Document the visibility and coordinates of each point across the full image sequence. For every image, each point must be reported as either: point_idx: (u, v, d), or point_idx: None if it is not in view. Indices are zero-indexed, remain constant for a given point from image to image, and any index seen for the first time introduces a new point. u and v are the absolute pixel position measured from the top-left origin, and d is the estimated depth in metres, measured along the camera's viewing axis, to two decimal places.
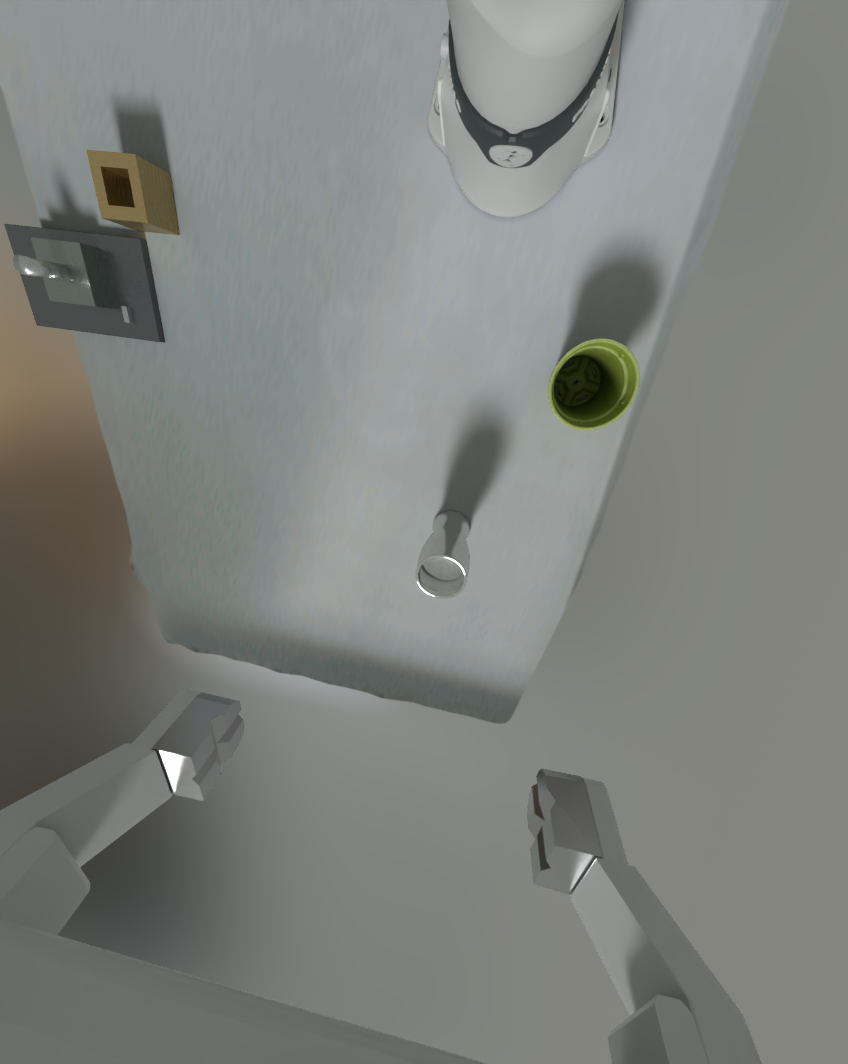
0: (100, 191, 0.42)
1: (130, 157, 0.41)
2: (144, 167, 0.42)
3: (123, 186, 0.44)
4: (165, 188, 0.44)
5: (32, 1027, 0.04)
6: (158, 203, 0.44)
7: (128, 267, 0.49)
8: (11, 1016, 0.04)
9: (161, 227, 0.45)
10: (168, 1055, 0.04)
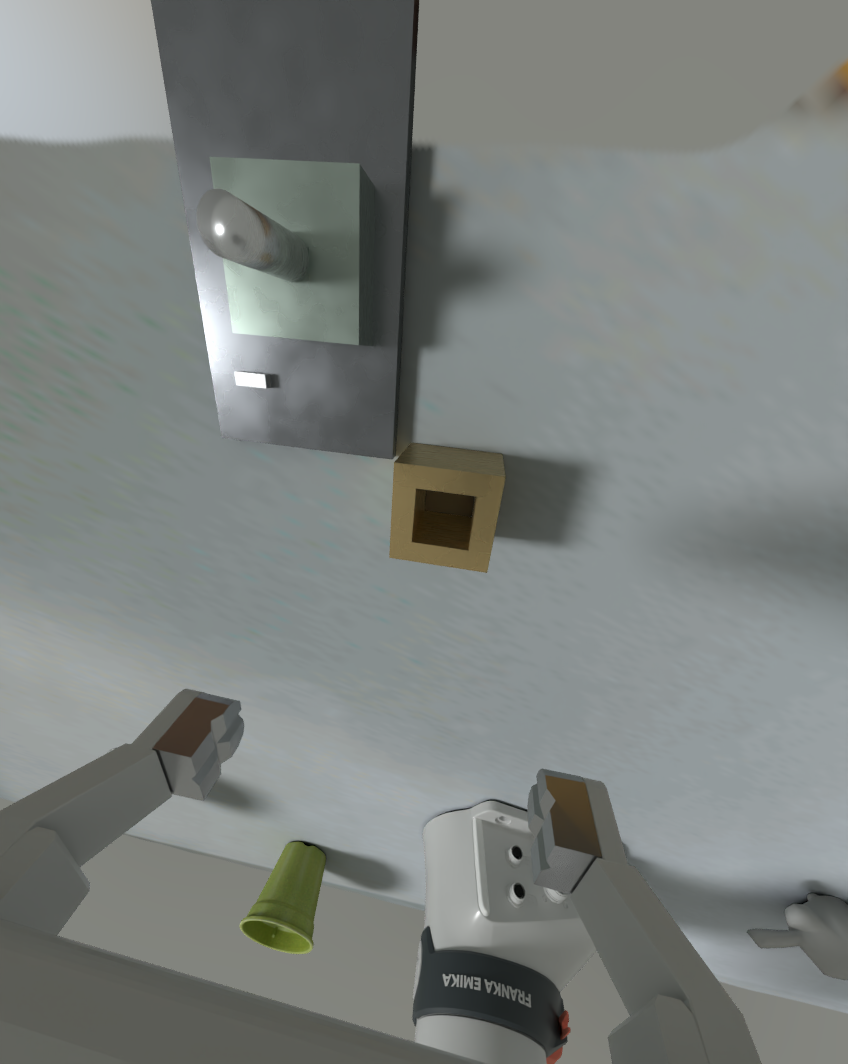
0: (438, 479, 0.20)
1: (483, 562, 0.22)
2: None
3: None
4: None
5: (32, 1027, 0.04)
6: None
7: (343, 413, 0.23)
8: (12, 1014, 0.04)
9: None
10: (168, 1055, 0.04)
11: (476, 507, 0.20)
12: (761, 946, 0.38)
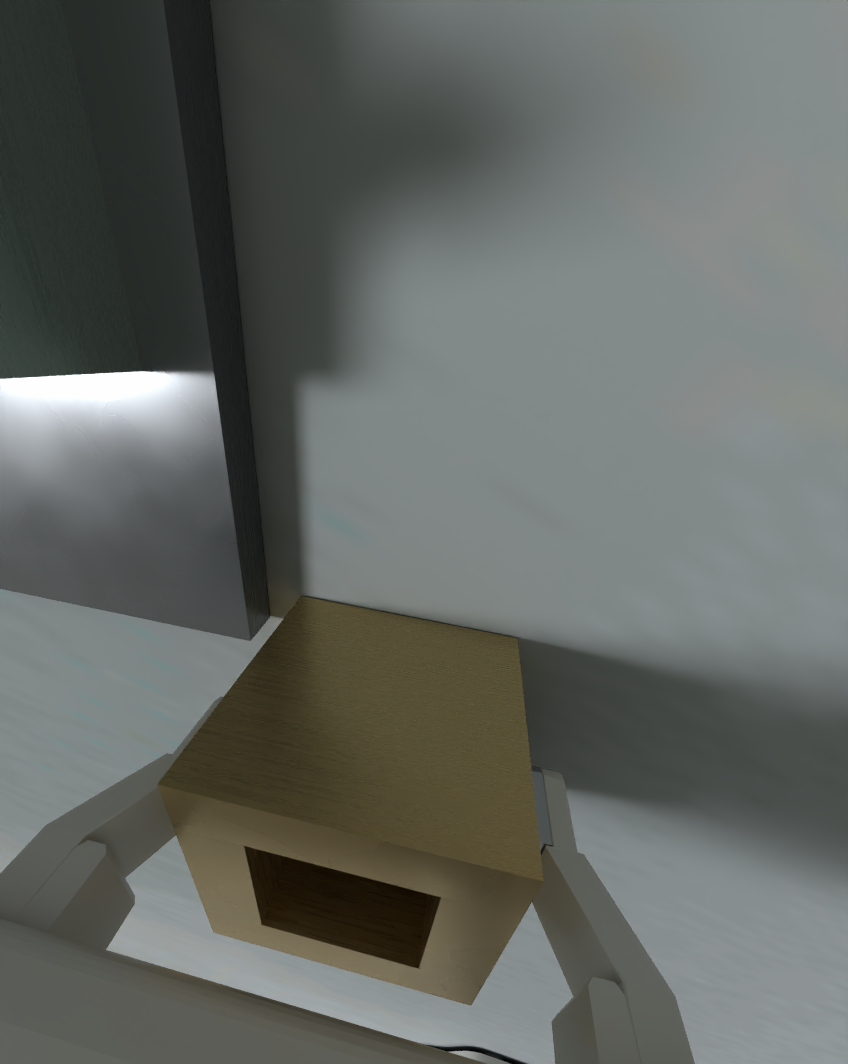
0: (308, 843, 0.06)
1: (461, 991, 0.08)
2: None
3: None
4: None
5: (32, 1027, 0.04)
6: None
7: (112, 537, 0.09)
8: (12, 1014, 0.04)
9: None
10: (168, 1055, 0.04)
11: (439, 912, 0.06)
12: None
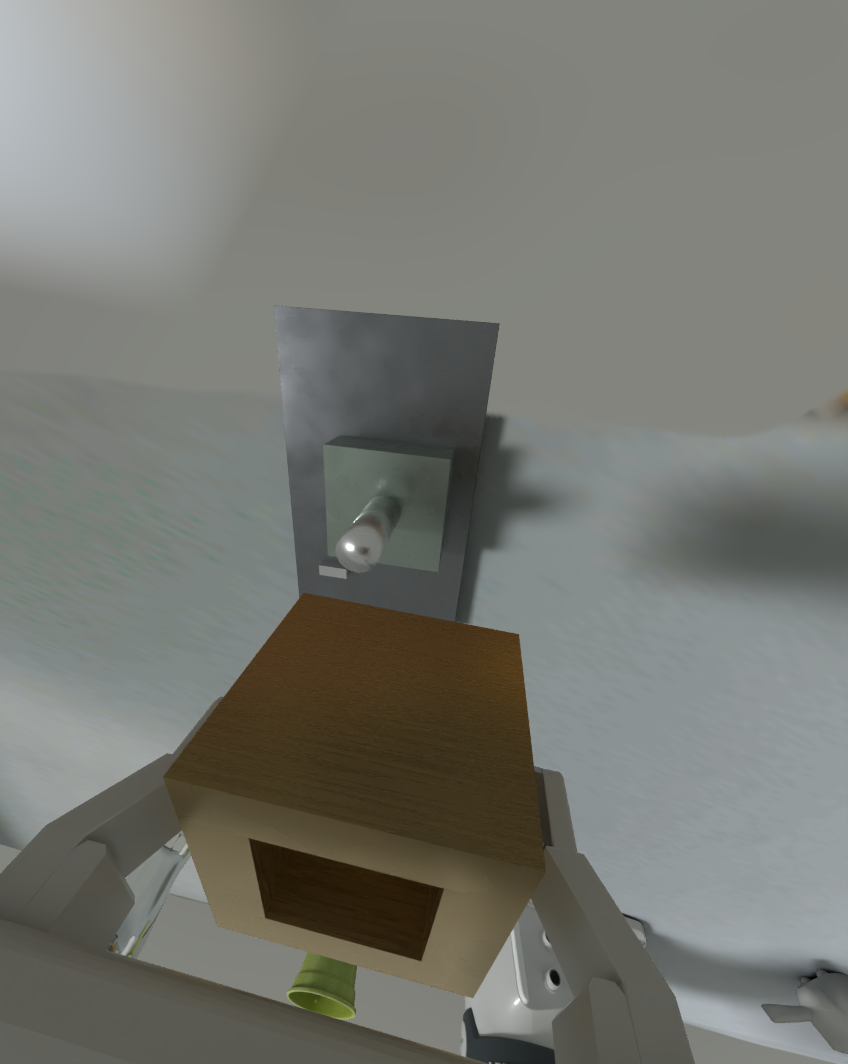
0: (312, 835, 0.06)
1: (463, 984, 0.08)
2: None
3: None
4: None
5: (32, 1027, 0.04)
6: None
7: (412, 596, 0.26)
8: (12, 1014, 0.04)
9: None
10: (168, 1055, 0.04)
11: (442, 904, 0.06)
12: (774, 1021, 0.41)
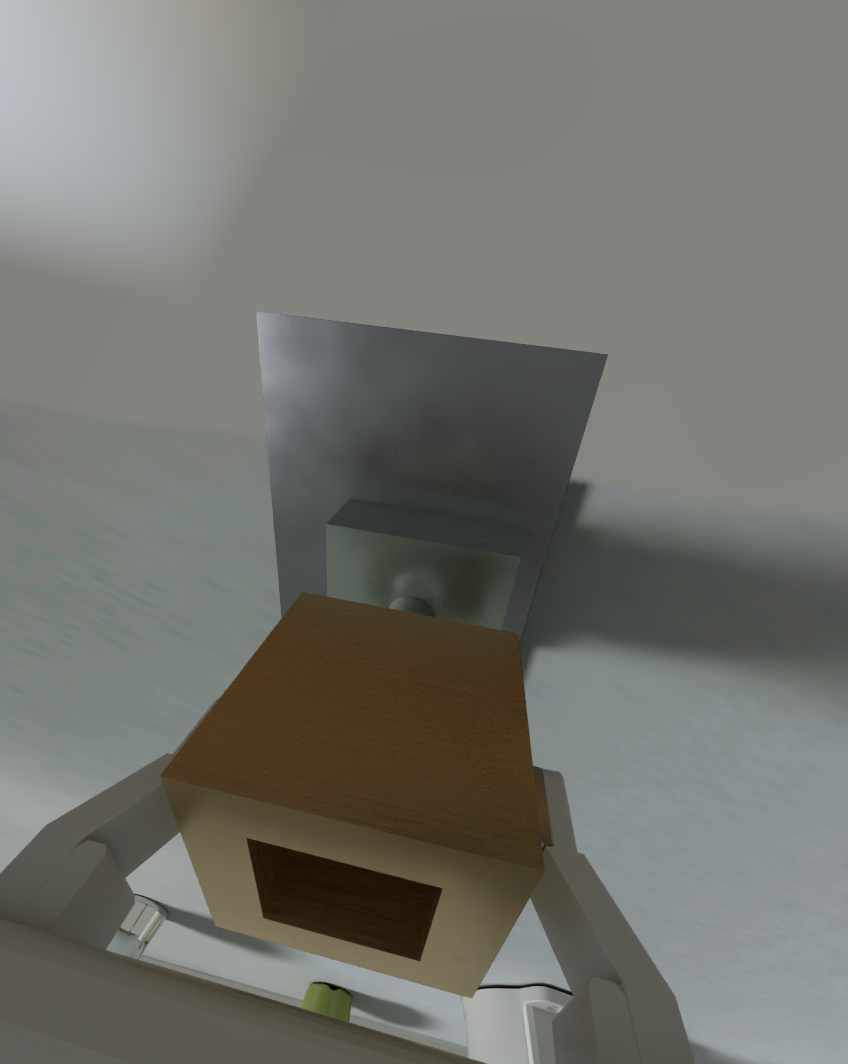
0: (310, 834, 0.06)
1: (462, 984, 0.08)
2: None
3: None
4: None
5: (32, 1027, 0.04)
6: None
7: None
8: (12, 1014, 0.04)
9: None
10: (168, 1055, 0.04)
11: (440, 904, 0.06)
12: None
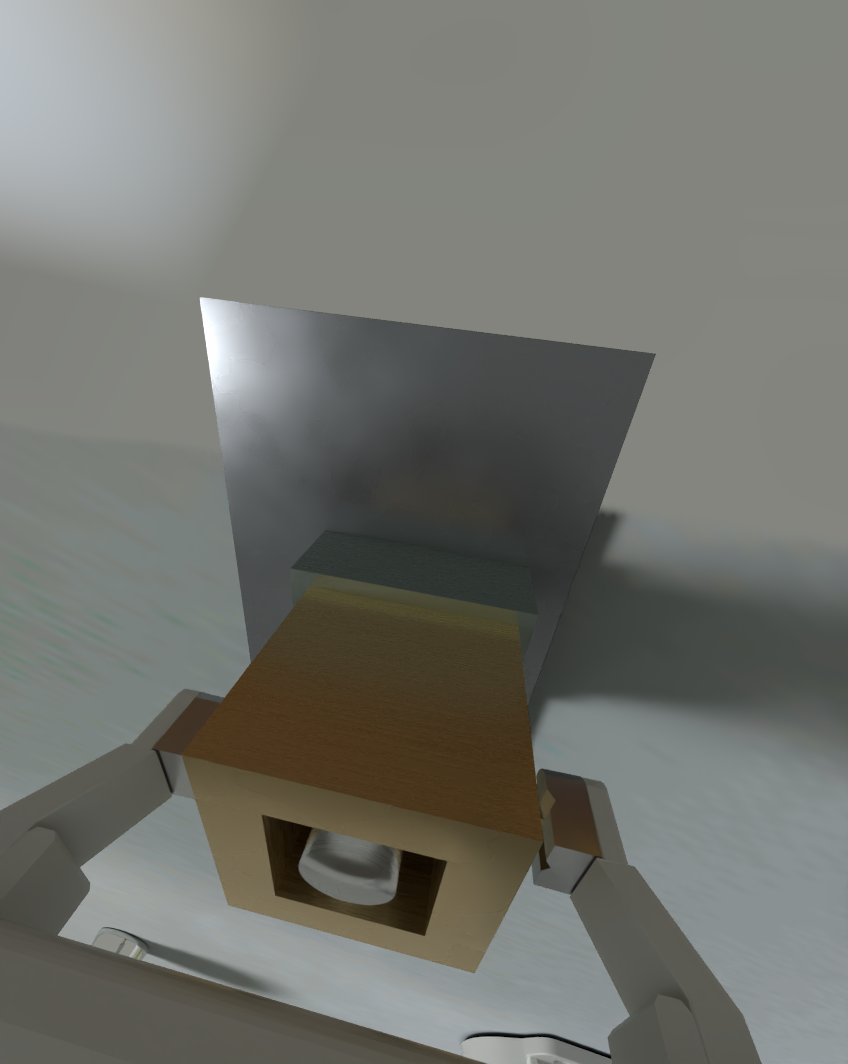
0: (322, 810, 0.06)
1: (465, 958, 0.08)
2: None
3: None
4: None
5: (32, 1027, 0.04)
6: None
7: None
8: (12, 1014, 0.04)
9: None
10: (168, 1055, 0.04)
11: (445, 877, 0.07)
12: None
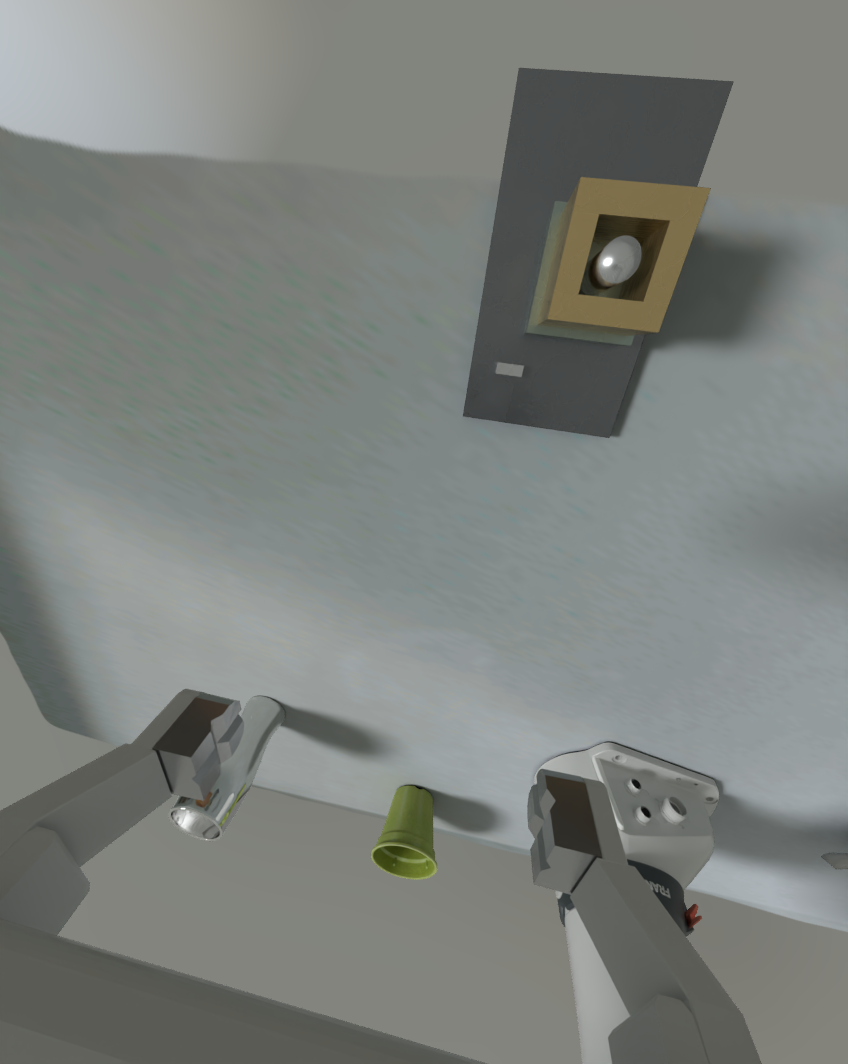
0: (628, 198, 0.18)
1: (657, 317, 0.20)
2: (637, 331, 0.21)
3: (632, 234, 0.20)
4: (606, 331, 0.23)
5: (32, 1027, 0.04)
6: (581, 326, 0.22)
7: (577, 399, 0.29)
8: (12, 1014, 0.04)
9: (544, 320, 0.22)
10: (168, 1055, 0.04)
11: (665, 237, 0.18)
12: (835, 867, 0.44)
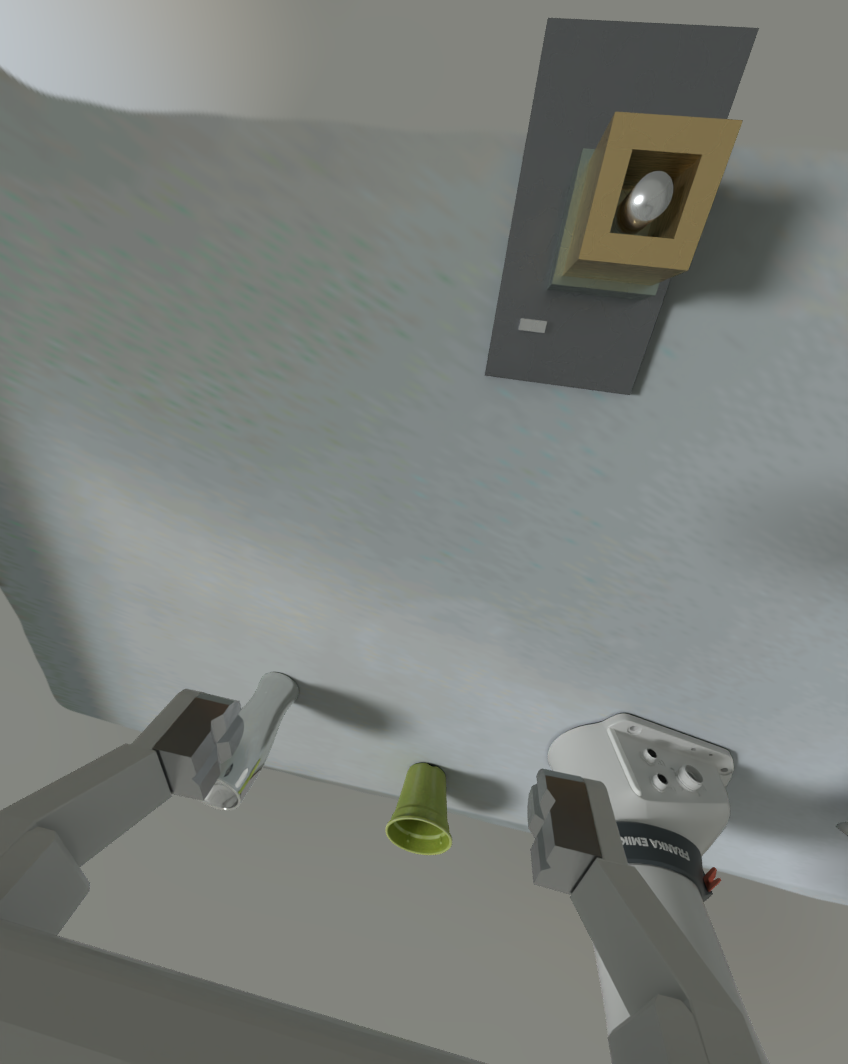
0: (661, 132, 0.18)
1: (687, 254, 0.20)
2: (666, 272, 0.21)
3: None
4: (632, 279, 0.24)
5: (32, 1027, 0.04)
6: (609, 271, 0.23)
7: (599, 355, 0.29)
8: (12, 1013, 0.04)
9: (572, 266, 0.23)
10: (168, 1055, 0.04)
11: (697, 171, 0.19)
12: None
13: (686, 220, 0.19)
